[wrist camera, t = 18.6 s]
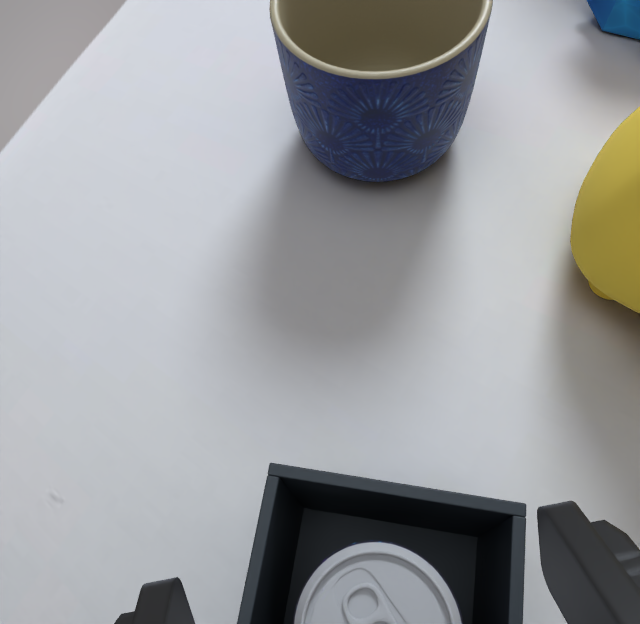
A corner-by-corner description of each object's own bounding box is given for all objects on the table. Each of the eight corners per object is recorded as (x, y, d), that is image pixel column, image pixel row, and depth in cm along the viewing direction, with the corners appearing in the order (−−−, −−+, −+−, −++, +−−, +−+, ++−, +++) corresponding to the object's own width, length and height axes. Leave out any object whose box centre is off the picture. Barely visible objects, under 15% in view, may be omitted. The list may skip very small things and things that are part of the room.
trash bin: (472, 759, 28) (516, 833, 19) (259, 712, 29) (208, 760, 20) (485, 530, 32) (526, 503, 23) (298, 498, 33) (269, 462, 25)
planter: (473, 72, 45) (499, -74, 36) (459, 211, 40) (485, 85, 30) (310, 62, 47) (292, -79, 37) (277, 193, 42) (247, 69, 32)
